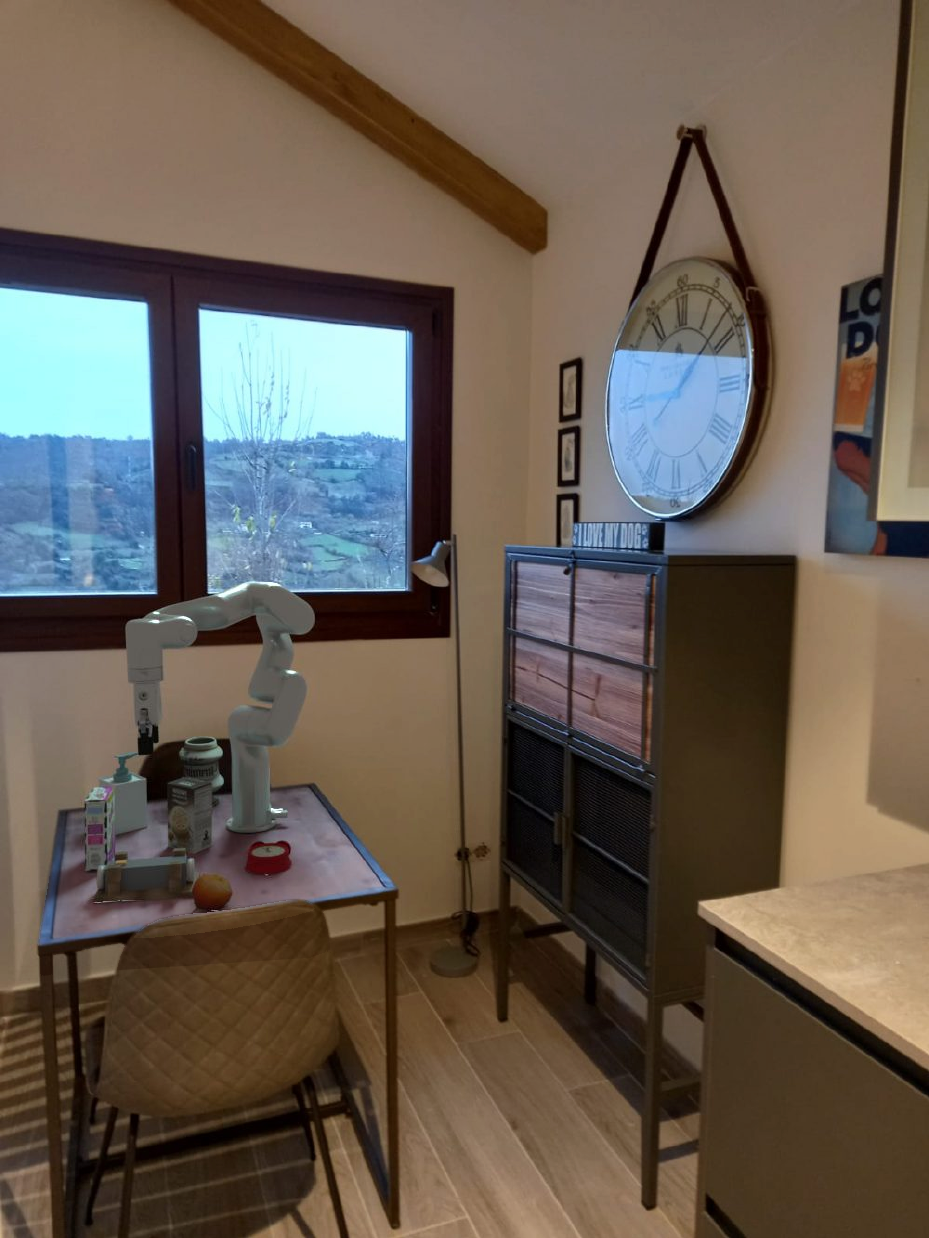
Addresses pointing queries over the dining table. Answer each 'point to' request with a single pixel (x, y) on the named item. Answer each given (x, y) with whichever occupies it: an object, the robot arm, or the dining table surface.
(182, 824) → the coffee box
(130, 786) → the soap bottle
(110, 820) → the candy bar box
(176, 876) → the rack
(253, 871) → the alarm clock
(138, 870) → the power strip
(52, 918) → the dining table surface
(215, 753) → the apothecary jar
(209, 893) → the fruit
